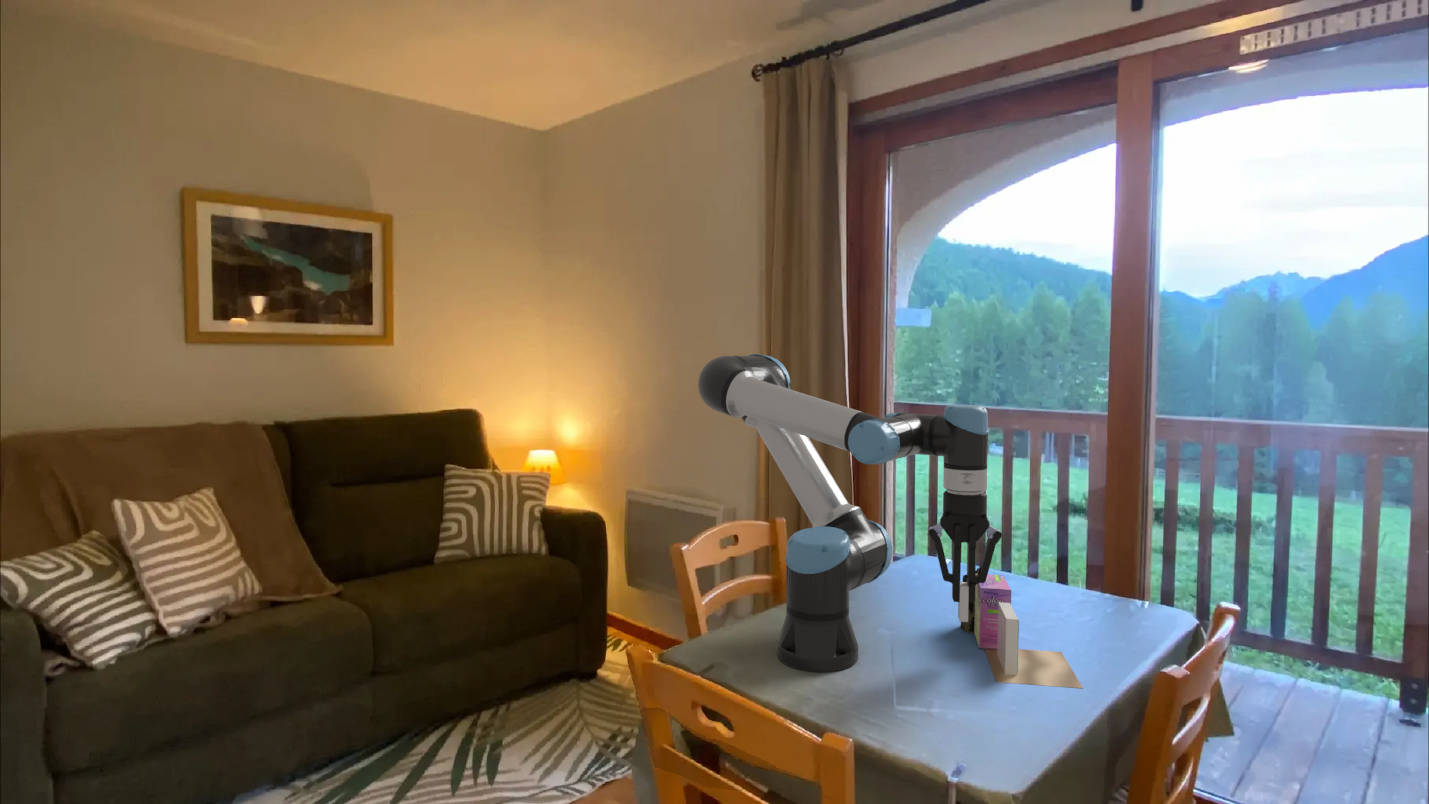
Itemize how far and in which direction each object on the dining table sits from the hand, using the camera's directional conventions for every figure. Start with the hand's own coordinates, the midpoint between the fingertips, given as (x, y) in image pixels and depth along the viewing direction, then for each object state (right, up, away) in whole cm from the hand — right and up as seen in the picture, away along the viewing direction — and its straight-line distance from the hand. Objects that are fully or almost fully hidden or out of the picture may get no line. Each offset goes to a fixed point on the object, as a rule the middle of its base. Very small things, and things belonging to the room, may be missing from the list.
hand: (963, 619), depth 145 cm
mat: (+12, -9, -2) cm, 14 cm away
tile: (+8, -8, -1) cm, 11 cm away
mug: (+8, -7, +18) cm, 21 cm away
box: (+9, -7, +11) cm, 16 cm away
